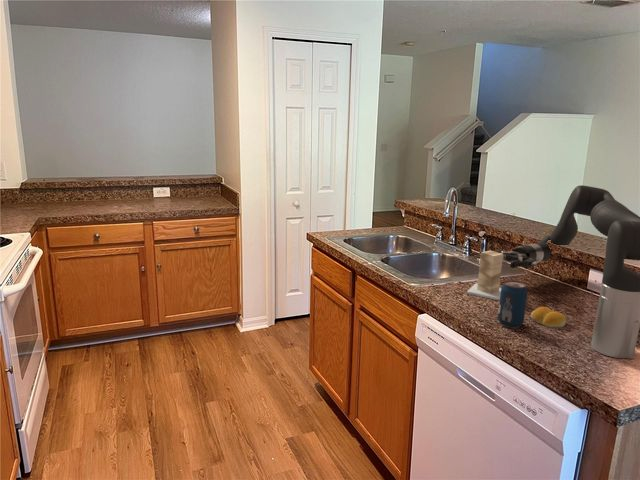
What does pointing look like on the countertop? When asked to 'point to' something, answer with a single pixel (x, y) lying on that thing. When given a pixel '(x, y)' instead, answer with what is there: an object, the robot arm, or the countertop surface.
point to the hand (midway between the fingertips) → (500, 261)
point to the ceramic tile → (484, 293)
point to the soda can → (512, 304)
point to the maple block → (490, 271)
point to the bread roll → (548, 317)
